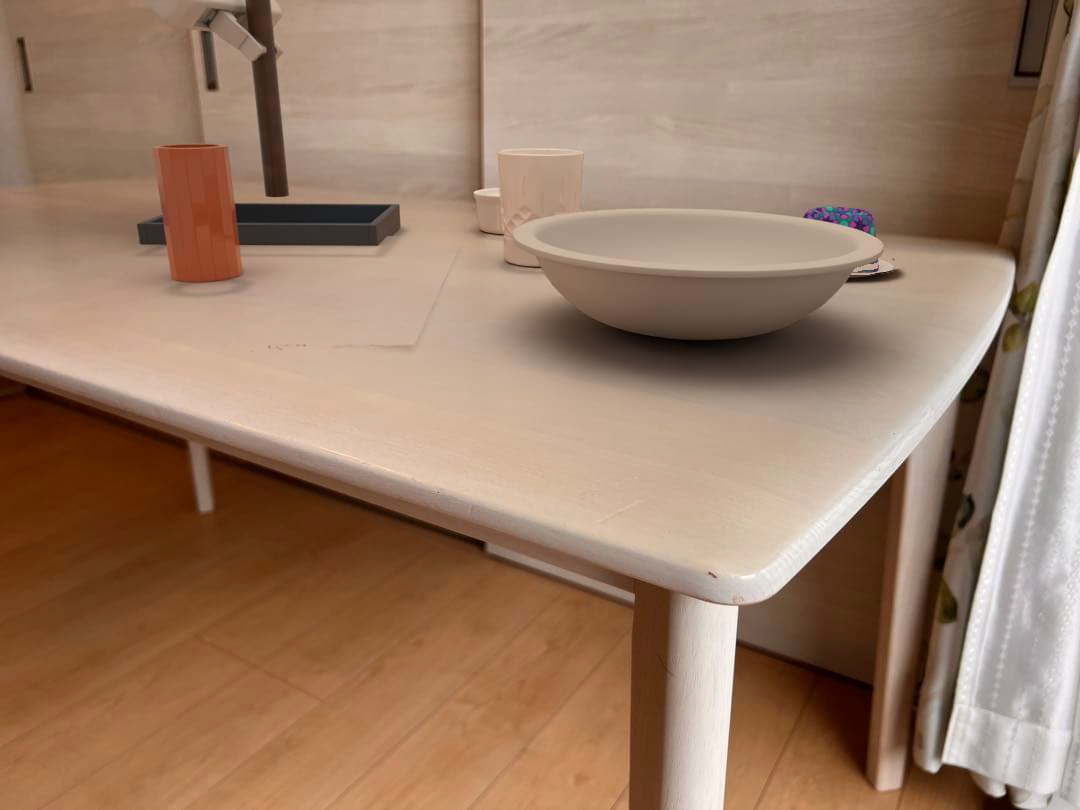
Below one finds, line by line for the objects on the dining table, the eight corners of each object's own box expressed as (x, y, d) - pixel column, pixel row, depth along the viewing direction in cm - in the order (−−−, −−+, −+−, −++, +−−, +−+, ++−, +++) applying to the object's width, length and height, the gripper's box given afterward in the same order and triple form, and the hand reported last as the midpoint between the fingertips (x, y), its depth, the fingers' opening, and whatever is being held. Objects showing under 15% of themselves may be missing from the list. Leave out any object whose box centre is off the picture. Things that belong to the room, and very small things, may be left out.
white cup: (484, 264, 80) (483, 152, 76) (518, 250, 87) (517, 147, 83) (564, 271, 77) (566, 156, 73) (592, 256, 84) (595, 150, 80)
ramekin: (458, 228, 99) (457, 190, 97) (516, 221, 104) (516, 185, 103) (509, 239, 93) (509, 198, 91) (567, 230, 98) (568, 191, 97)
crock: (161, 289, 70) (140, 148, 66) (187, 274, 75) (169, 143, 71) (230, 289, 70) (213, 148, 66) (251, 274, 75) (237, 143, 71)
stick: (262, 197, 90) (240, -13, 83) (269, 194, 93) (248, -11, 85) (285, 197, 90) (265, -13, 83) (291, 194, 93) (272, -11, 85)
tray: (140, 250, 85) (136, 223, 84) (198, 225, 100) (195, 202, 99) (377, 251, 86) (376, 225, 85) (400, 226, 100) (399, 204, 99)
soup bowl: (663, 415, 44) (670, 288, 42) (452, 313, 63) (449, 222, 61) (948, 345, 56) (967, 244, 53) (699, 277, 75) (704, 200, 72)
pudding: (741, 259, 83) (746, 204, 81) (846, 253, 86) (853, 200, 84) (815, 286, 72) (823, 223, 70) (932, 277, 76) (942, 217, 74)
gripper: (117, -97, 74) (237, 27, 76) (232, -62, 92) (326, 36, 95) (79, -39, 76) (197, 80, 78) (199, -16, 95) (291, 79, 97)
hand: (268, 56), depth 86 cm, fingers closed on stick, 2 cm apart
